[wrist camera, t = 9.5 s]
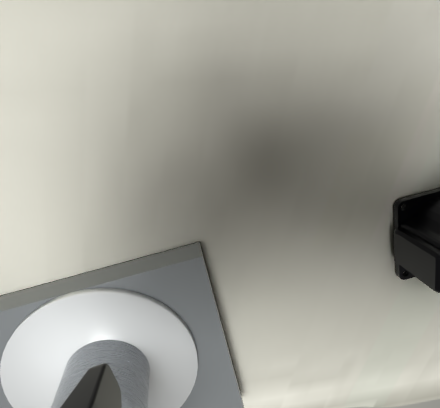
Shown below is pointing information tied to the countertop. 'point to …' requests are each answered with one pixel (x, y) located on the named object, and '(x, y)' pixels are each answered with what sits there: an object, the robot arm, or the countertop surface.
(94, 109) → the countertop surface
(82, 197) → the countertop surface
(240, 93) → the countertop surface
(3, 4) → the countertop surface
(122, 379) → the metal canister
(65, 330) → the scale
